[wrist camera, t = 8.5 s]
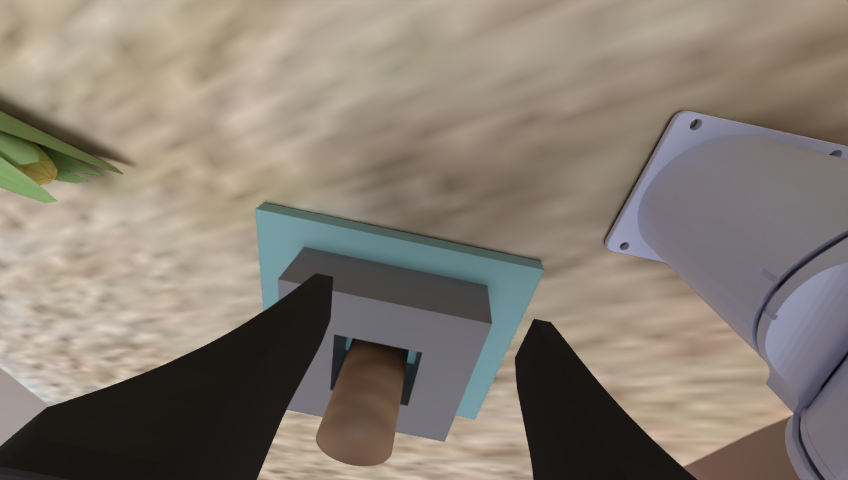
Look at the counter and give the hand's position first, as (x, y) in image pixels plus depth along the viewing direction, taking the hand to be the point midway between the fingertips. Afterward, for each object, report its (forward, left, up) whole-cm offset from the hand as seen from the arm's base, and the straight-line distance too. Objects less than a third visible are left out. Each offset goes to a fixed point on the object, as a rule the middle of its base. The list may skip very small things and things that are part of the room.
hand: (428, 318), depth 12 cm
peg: (+2, +10, -8) cm, 13 cm away
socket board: (+2, +10, -9) cm, 14 cm away
